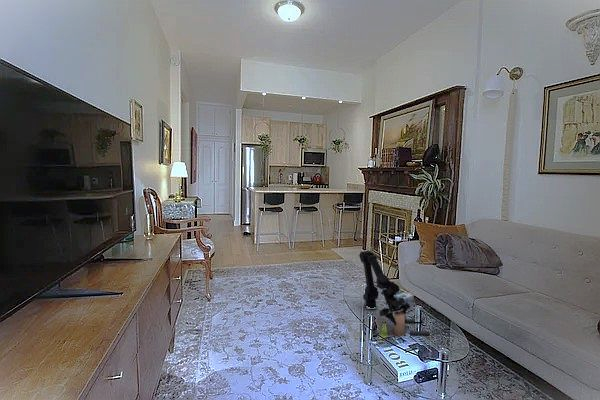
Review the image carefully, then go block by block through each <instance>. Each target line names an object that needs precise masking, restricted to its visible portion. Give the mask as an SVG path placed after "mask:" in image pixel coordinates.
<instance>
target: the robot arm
mask: <svg viewBox="0 0 600 400" xmlns="http://www.w3.org/2000/svg"><path fill="white" fill-rule="evenodd" d="M358 255H359V257H358V258H359V259H360V262H361V263H362V264H363V270H364V275H365V282H366V286H365V289H364V291H365V292H364V294H363V295H362V298H363V300H364V301H365V304H366V306H368V307H370V308H374V307H375V308H377V301H376V300H378V298H379V290H378V288H379V289H380V290H381V295H383V297H384V299H385V305H387V307H386V308H383V309H381V310H380V311H379V313H378V314H379V315H380V317H385V318H387V319H388V320H390V321H391V323H393V325H394V324H395V325H397V324H396V321H395V319H394V313H395V312H398V310H400V312H402V313H404V314H405V315H406V310H408V309H409V308H410V305H409V304H408V303H407V304H403V303H405V301H404V298H399V300H397V298H395V295H397V293H399V292H400V286H399V285H398V284H396V283H395V282H394V281H390V279H389V278H388V276H387V275H386V274H385V273H384V271H383V269H382V268H381V266H380V263H379V261H378V258H377V257H378V256H377V255H376V254H375V253H374V252H372V251H370V250H365V251H361V252H359V254H358ZM373 272H374V274H375V277H376V280H375V281H376V284H377V285H376V286H377V287H376V286H375V283H374V276H373ZM366 306H365V307H366ZM399 306H400V307H399ZM406 319H407V318H406V316H405V324H407V323H406Z"/></svg>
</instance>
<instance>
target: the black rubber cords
mask: <svg viewBox="0 0 600 400" xmlns="http://www.w3.org/2000/svg"><path fill="white" fill-rule="evenodd" d="M415 319H416V318H415ZM415 319H413V318H411V319H408V318H406V323H405V324H411V323H413V324H415V323H414V322H415ZM421 322H422V323H423V322H424V320H423V319H421ZM422 323H421V324H422ZM409 335H410V336H424V335H425V336H428V335H430V331H427V330H426V331H425V330H424V331H423V330H417V331H416V330H411V331H409Z"/></svg>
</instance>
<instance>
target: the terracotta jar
mask: <svg viewBox="0 0 600 400" xmlns="http://www.w3.org/2000/svg"><path fill="white" fill-rule="evenodd" d="M393 317H394V319H395V321H396V324H397V325H395V324H394V323H393V333H394V335H396V336H398V337H403V336H405V333H406V332H405V330H406V329H405V328H406V325H405V324H406V323H405V317H406V313H405V314H404V313H402V312H398V311H394V312H393Z"/></svg>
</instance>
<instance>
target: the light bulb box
mask: <svg viewBox="0 0 600 400" xmlns="http://www.w3.org/2000/svg"><path fill="white" fill-rule="evenodd" d="M394 297H395V298H397V300H399V298H404V301H405V303H403V304H407V303H408V304H409V305H410V308H409V309H408V310H406V311H410V310H412V309H413V310H414V299H415V298H414V295H413V294H412V293H409V292H407V291H405V292H402V293H399V294H395V295H394ZM399 307H400V306H399ZM413 310H412V311H413ZM397 312H400V310H398V311H397ZM410 312H411V311H410Z"/></svg>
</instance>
